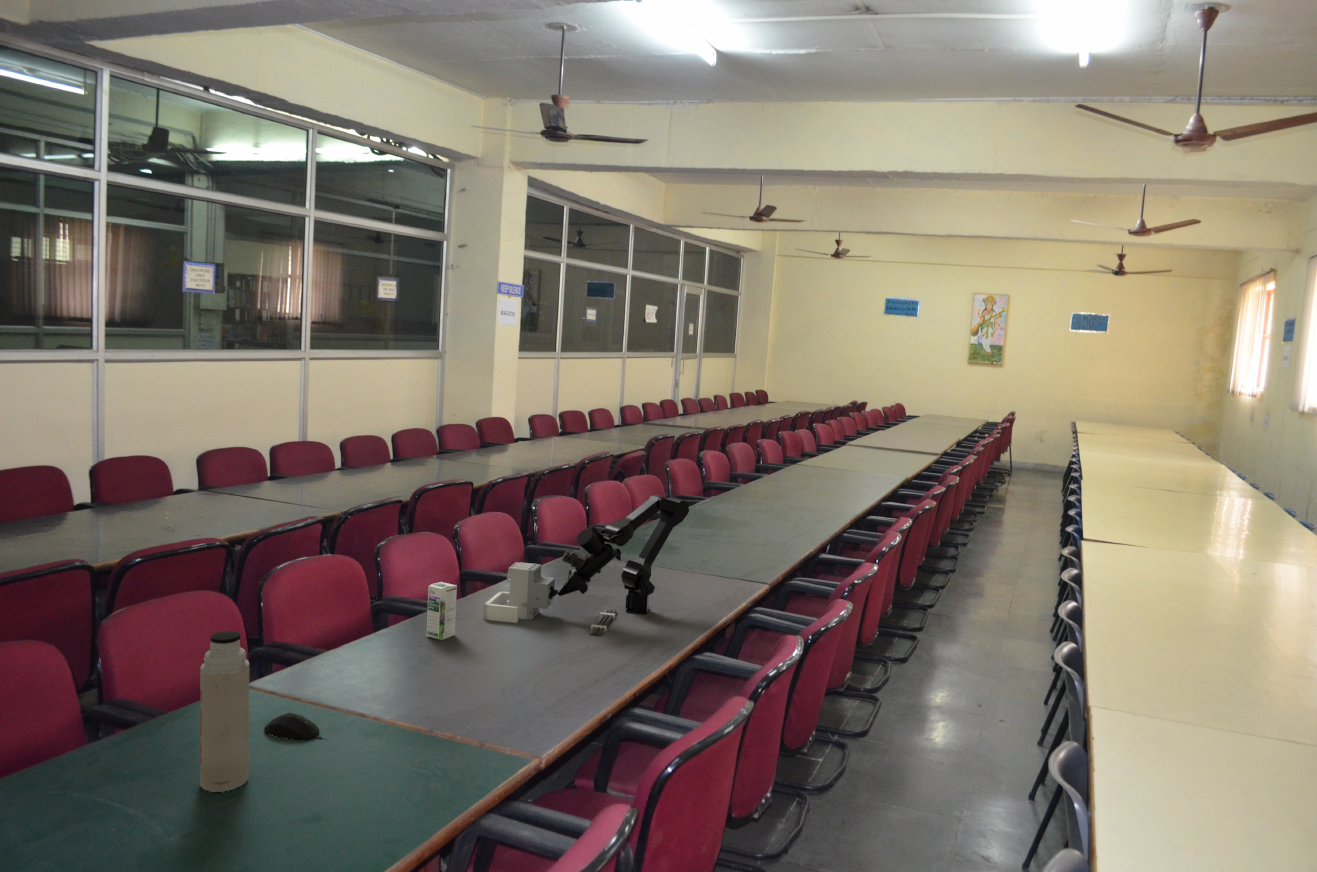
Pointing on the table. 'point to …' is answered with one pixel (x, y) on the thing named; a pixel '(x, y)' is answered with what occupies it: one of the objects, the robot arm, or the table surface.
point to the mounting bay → (500, 609)
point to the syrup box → (441, 610)
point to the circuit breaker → (529, 589)
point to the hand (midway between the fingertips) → (558, 594)
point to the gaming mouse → (292, 727)
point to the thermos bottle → (224, 714)
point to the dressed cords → (602, 626)
